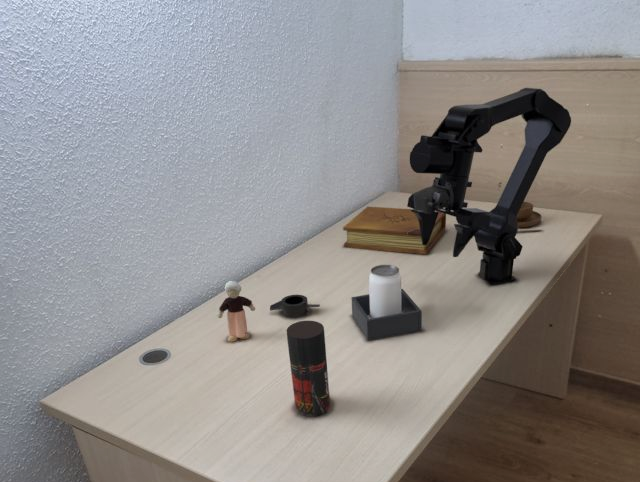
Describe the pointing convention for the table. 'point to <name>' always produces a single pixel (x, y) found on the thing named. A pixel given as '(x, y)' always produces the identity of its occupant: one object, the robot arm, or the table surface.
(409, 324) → the bin
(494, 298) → the table surface
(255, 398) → the table surface
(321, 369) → the deodorant
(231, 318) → the grandmother figurine
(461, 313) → the table surface
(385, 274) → the can
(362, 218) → the diary
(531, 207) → the place setting
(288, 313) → the dark ring with tabs
